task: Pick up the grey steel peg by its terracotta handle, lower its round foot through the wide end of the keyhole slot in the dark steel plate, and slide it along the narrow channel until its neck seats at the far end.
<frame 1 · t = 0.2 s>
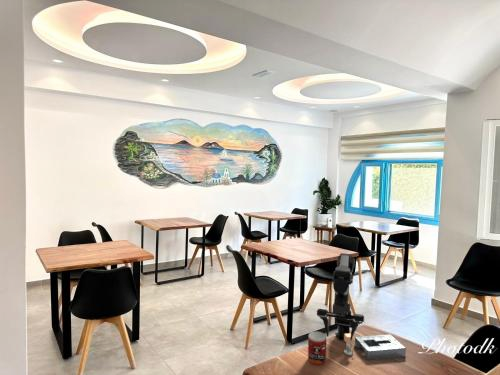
hand: (339, 338, 131), 15 cm above the table, tool tilted 30°, fingers open, 9 cm apart
canned food: (316, 360, 141), on the table
keyhole plate: (379, 350, 148), on the table
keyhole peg: (348, 353, 146), on the table
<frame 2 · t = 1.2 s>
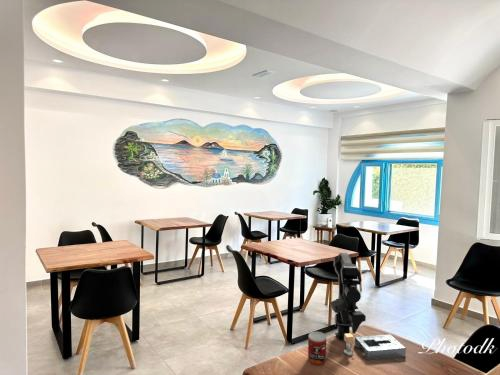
hand: (348, 328, 145), 12 cm above the table, tool pointing down, fingers open, 9 cm apart
nothing on the table moved.
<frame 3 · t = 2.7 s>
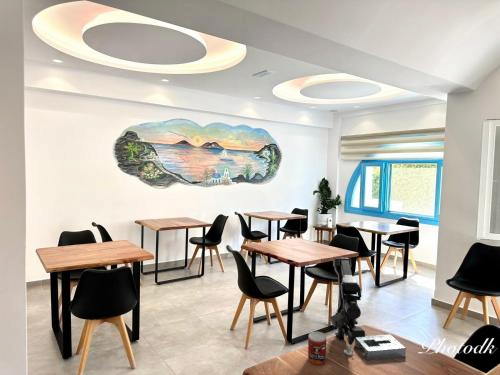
hand: (348, 342, 146), 5 cm above the table, tool pointing down, fingers closed on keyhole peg, 3 cm apart
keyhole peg: (348, 353, 146), on the table, touching gripper
everything else where it was.
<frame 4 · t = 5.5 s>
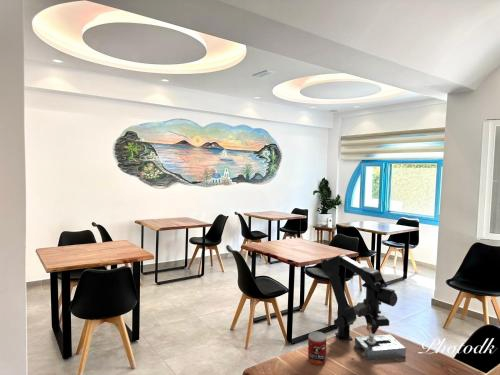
hand: (371, 331, 147), 9 cm above the table, tool pointing down, fingers closed on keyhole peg, 3 cm apart
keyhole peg: (371, 342, 148), point 4 cm above the table, touching gripper
everything else where it was.
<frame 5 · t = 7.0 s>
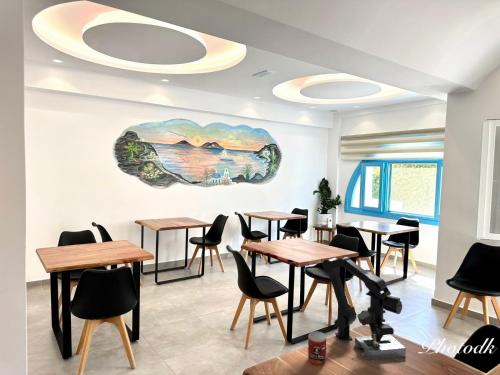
hand: (375, 340, 148), 5 cm above the table, tool pointing down, fingers closed on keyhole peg, 3 cm apart
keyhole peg: (375, 350, 148), on the table, touching gripper
everything else where it was.
when the fingers open (5 cm above the table, at t = 8.4 s): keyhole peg stays where it is, on the table.
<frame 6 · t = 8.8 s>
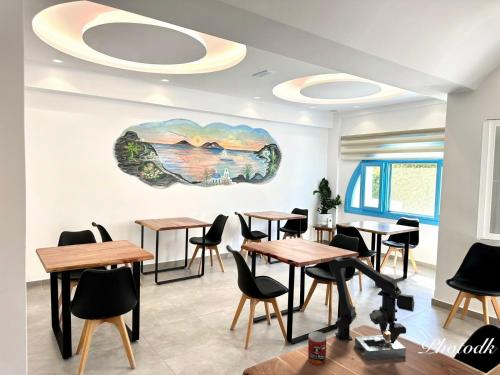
hand: (387, 339, 149), 5 cm above the table, tool pointing down, fingers open, 7 cm apart
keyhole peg: (387, 350, 149), on the table
everything else where it was.
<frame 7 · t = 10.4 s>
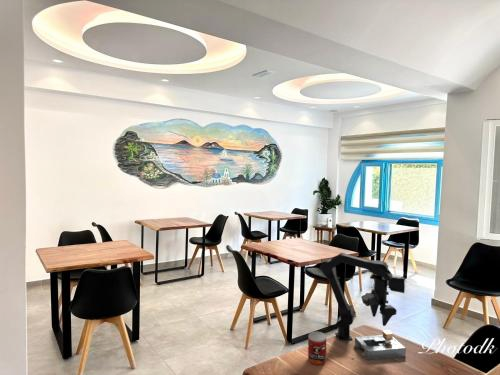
hand: (378, 321, 153), 12 cm above the table, tool pointing down, fingers open, 9 cm apart
nothing on the table moved.
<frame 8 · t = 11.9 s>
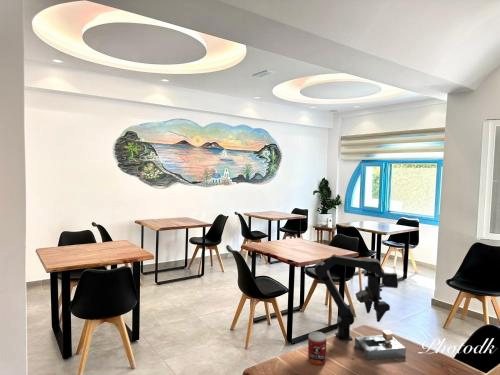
hand: (373, 317, 156), 12 cm above the table, tool pointing down, fingers open, 9 cm apart
nothing on the table moved.
at the end: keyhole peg 0.1 cm from the target spot on the keyhole plate, point 0.0 cm above the keyhole plate's base; the gripper is holding nothing; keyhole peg tilted 1° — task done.
